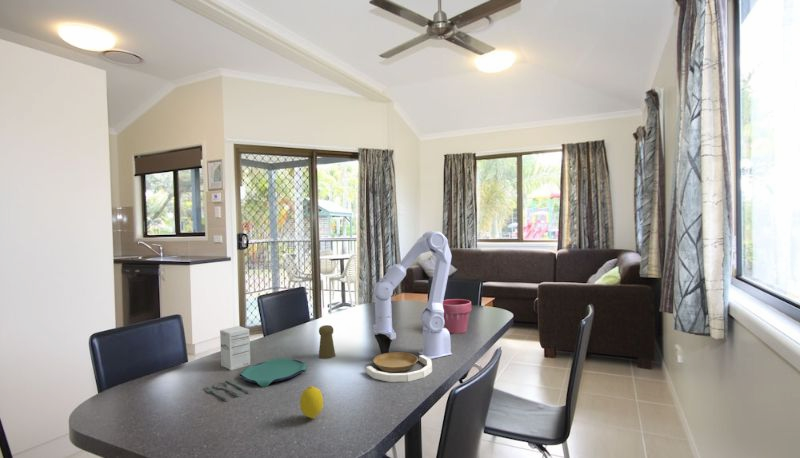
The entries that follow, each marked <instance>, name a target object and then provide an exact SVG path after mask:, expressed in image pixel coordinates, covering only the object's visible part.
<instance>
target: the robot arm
mask: <svg viewBox="0 0 800 458" xmlns="http://www.w3.org/2000/svg"><path fill="white" fill-rule="evenodd" d="M427 252H428V253H429V252H431V253H432V255H433V256H434V258H435V259H436V261H435V265H434V271H433V276H432V280H431V281H432V282H431V286H430V291H429V297H428V301H427V303H426V304H425V307H424V310H423V311H422V312H421V314H420V320H421V323H422V324H423V326H422V348H423V349H422V351H418V354H419V355H424V356H426V357H428V358H430V359H431V360H433V359H438V358H442V357H446V356H451V355H453V353H452V352H451V349H452V346H451V335H450V334H451V333H449V331H448V330H447V329H446V328H445V327H444V324H445V321H444V309H443V300H445V299H444V298H445V294H446V290H447V283H448V279H449V273H450V268H451V262H452V252H451V249H450V245H449V240H448V238H447V237H446V235H444V233H442V232H441V231H431V230H430V231H429V230H428V231H425V232H424V233H423V234H422V236H420V237H419V238H418V239H417V241H415V243H414V244H413V245H412V247H411V248H410V249H409V251H408V252H407V253H406V254H405V256H404V257H403V258H402V260H401V261H400V262H399V263H397V264H396V263H395V264H393V265H390V266H389V267H388V271H387V272H386V273H385V275H383V277H382V276H381V277H380V278H379V280H380V281H377V282H376V283H375V284H374V286H373V289H372V292H373V294H374V295H375V296H374V315H375V317H374V318H375V324H372V333H374V338H375V339H376V341H377V344H378V347H379V351H380V355H381V354H384V353H390V347H391V345H392V344H391V343H392V341H393V340H395V339H397V333H396V332H395V330H394V328H393V319H392V318H393V315H392V312H393V311H392V298H391V297H393V293H394V289H396V288H397V287H398V285H400V283H401V282H402V281H403V279H404V278H405V277H406V276H407V270H408V269H409V267H410V266H411V265H412V264H414V262H415V261H416V260H418V257H420V256H421V255H422V254H425V253H427Z"/></svg>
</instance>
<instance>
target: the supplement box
mask: <svg viewBox="0 0 800 458" xmlns="http://www.w3.org/2000/svg"><path fill="white" fill-rule="evenodd" d="M219 334H220V335H219V336H220V341H219V342H220V367H223V368H226V369H228V370H229V371H235V370H238V369H242V368H244V367H245V368H246V367H247V366H248V367H249V366H251V344H250V341H251V340H250V338H251V337H250V329H249V328H246V327H243V326H240V325H237V326H231V327H227V328H223V329H220V330H219Z"/></svg>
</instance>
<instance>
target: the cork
mask: <svg viewBox="0 0 800 458" xmlns="http://www.w3.org/2000/svg"><path fill="white" fill-rule="evenodd" d="M318 334H319V335H320V339H319V350H318V358H319V359H321V360H327V359H333V358H335V357H336V351H335V345H334V340H333V334H334V328H333V326H332V325H322V326H320V327H319V328H318Z"/></svg>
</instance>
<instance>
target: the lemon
mask: <svg viewBox="0 0 800 458" xmlns="http://www.w3.org/2000/svg"><path fill="white" fill-rule="evenodd" d="M299 407H300V410H301V412H302V414H303V415H304V416H306V417H307V418H310V419H314V418H315V417H316V416H318V415H319V414H320V413H321V412H322V410H323V407H324V397H323V394H322V391H321V390H320V389H319V388H318V387H314V386H313V385H310V386H309V387H307V388H305V389H304V391H303V392H302V393H301V395H300V400H299Z"/></svg>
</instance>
